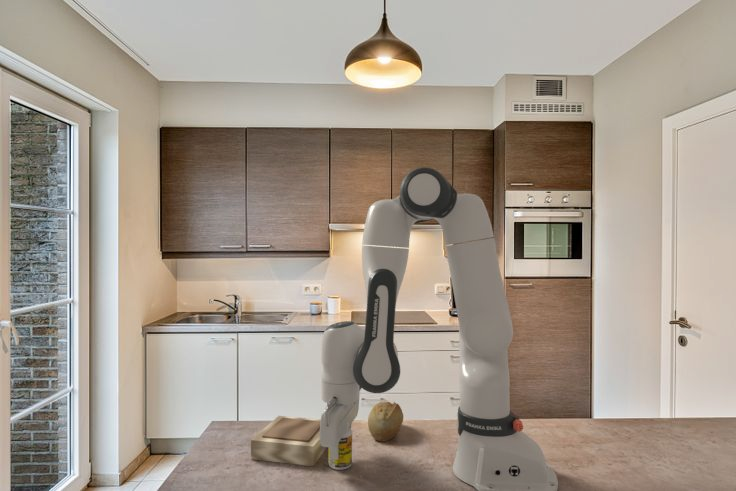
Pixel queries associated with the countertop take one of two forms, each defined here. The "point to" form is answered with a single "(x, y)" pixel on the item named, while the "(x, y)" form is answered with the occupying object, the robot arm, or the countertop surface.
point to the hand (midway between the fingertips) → (340, 449)
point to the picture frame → (289, 441)
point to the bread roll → (385, 420)
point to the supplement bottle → (343, 452)
